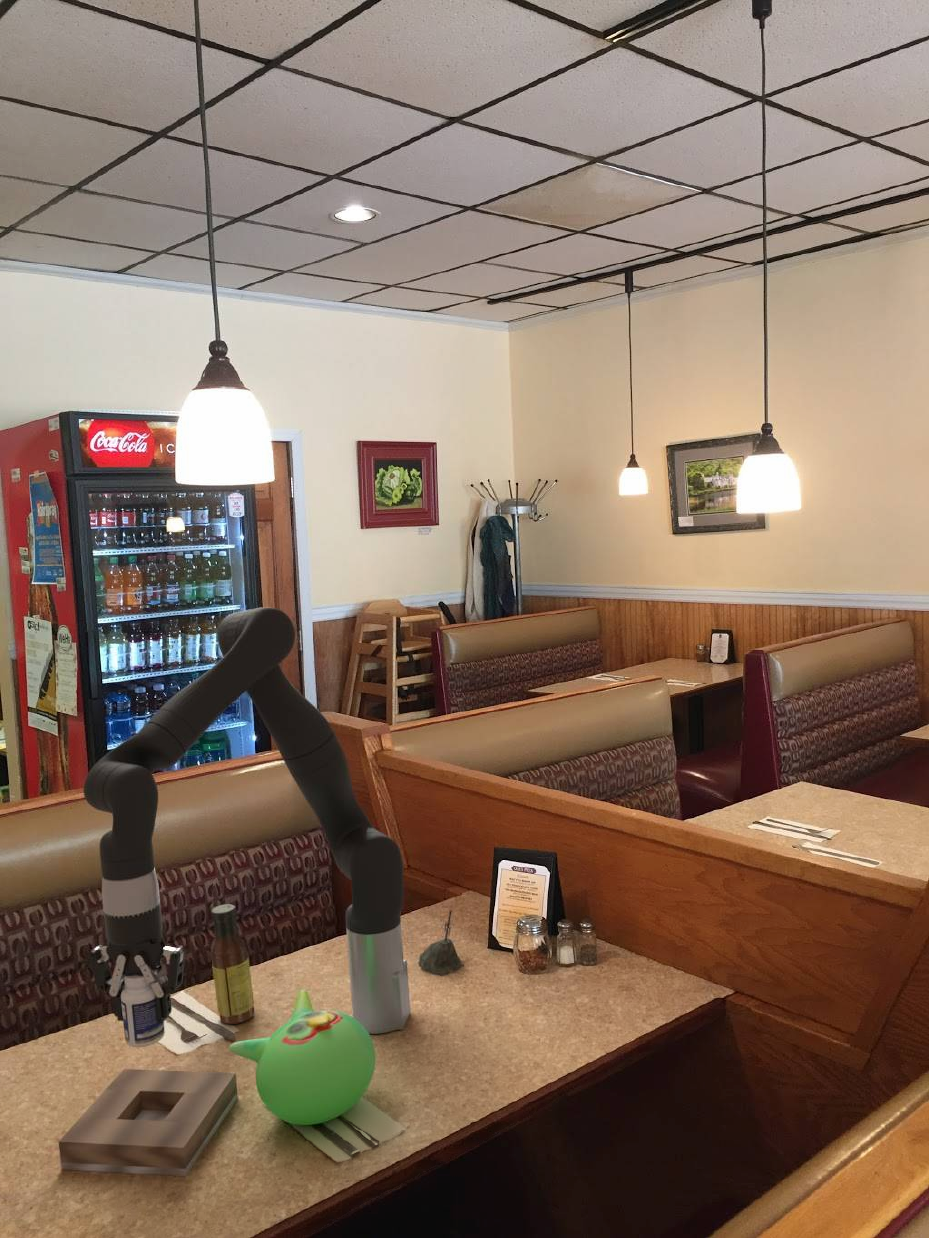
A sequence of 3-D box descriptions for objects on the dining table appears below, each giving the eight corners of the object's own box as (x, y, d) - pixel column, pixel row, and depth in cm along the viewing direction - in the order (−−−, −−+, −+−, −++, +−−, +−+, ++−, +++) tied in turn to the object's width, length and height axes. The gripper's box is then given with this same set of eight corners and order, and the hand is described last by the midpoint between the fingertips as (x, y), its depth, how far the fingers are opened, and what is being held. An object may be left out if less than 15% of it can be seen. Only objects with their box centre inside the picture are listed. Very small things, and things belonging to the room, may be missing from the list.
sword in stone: (408, 962, 196) (406, 901, 195) (442, 952, 201) (440, 892, 200) (435, 980, 188) (433, 917, 187) (471, 969, 192) (469, 907, 191)
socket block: (237, 1098, 153) (235, 1072, 152) (186, 1176, 135) (183, 1147, 135) (126, 1093, 156) (123, 1068, 156) (61, 1169, 138) (58, 1141, 138)
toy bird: (321, 1161, 137) (313, 1057, 135) (230, 1127, 146) (221, 1029, 144) (400, 1092, 152) (393, 998, 150) (312, 1065, 161) (305, 976, 159)
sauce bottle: (259, 1008, 181) (250, 900, 179) (248, 1026, 175) (239, 914, 173) (223, 1008, 182) (214, 901, 179) (211, 1026, 175) (201, 915, 173)
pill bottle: (172, 1031, 146) (166, 965, 145) (149, 1050, 141) (143, 983, 140) (141, 1026, 148) (135, 962, 147) (117, 1045, 143) (110, 979, 142)
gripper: (191, 893, 145) (202, 1006, 146) (98, 892, 147) (109, 1004, 149) (167, 914, 137) (179, 1033, 139) (69, 913, 140) (82, 1030, 142)
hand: (143, 1018), depth 144 cm, fingers closed on pill bottle, 5 cm apart
